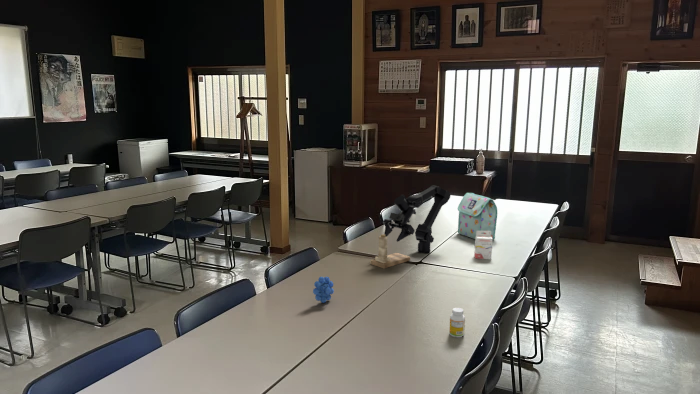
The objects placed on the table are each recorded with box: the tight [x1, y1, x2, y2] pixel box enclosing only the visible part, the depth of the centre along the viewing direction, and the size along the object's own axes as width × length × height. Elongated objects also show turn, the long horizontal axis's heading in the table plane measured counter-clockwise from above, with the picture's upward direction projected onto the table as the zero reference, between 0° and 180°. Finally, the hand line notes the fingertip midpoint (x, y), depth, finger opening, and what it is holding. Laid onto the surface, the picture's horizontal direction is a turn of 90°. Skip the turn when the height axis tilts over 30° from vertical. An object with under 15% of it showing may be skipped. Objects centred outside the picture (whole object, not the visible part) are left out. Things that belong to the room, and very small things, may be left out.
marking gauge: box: [374, 233, 390, 263], centre depth 264 cm, size 5×6×14 cm
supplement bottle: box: [449, 307, 466, 338], centre depth 186 cm, size 5×5×10 cm
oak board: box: [370, 252, 411, 269], centre depth 269 cm, size 20×10×2 cm, turn 132°
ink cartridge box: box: [473, 231, 494, 260], centre depth 275 cm, size 9×5×15 cm, turn 84°
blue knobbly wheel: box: [312, 276, 335, 304], centre depth 214 cm, size 12×7×12 cm, turn 138°
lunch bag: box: [457, 192, 498, 240], centre depth 317 cm, size 23×16×27 cm
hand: (390, 239), depth 267 cm, fingers open, 9 cm apart
